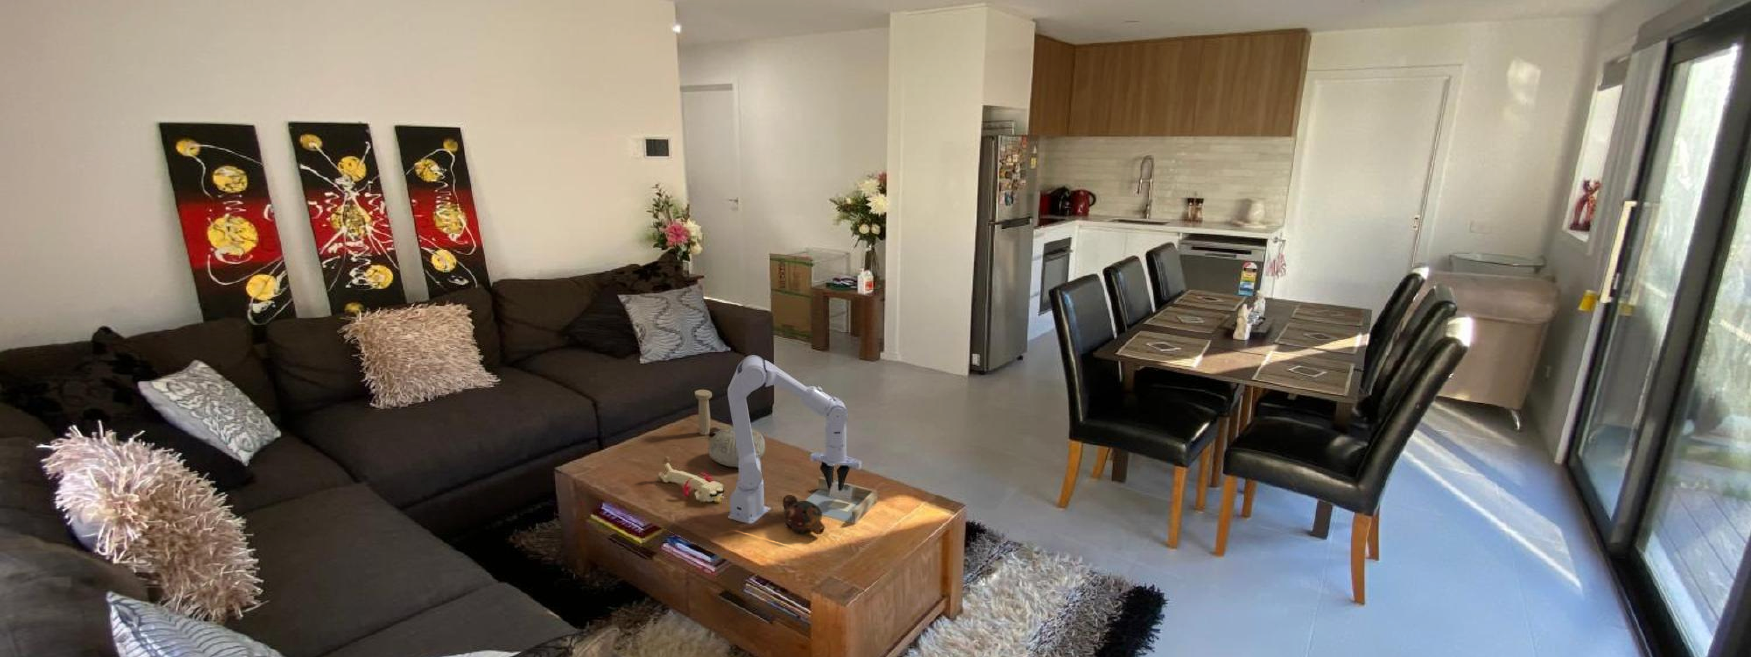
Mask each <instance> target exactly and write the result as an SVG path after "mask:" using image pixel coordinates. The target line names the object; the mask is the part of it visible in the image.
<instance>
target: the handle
mask: <svg viewBox="0 0 1751 657" xmlns="http://www.w3.org/2000/svg"><path fill="white" fill-rule="evenodd" d="M694 396H695V398H696V399H697V400H698V428H699V430H700V435H701V436H707V435H710V429H711V412H710V411H711V410H710V401H709V400H710V399H711V398H712V397H713V393H712V391H710V390H707V389H698V390H695V391H694Z"/></svg>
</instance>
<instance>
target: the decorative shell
mask: <svg viewBox="0 0 1751 657" xmlns="http://www.w3.org/2000/svg"><path fill="white" fill-rule="evenodd" d="M751 430H752V436H753V442H754V447H755V451H756V455H757V456H758V457H759V459H760V460H761V458H762V457H763V456H764V454H765V451H766V442H765V437H763V434H762V433H760V432H759V431H758V430H757V429H754V428H751ZM707 449H708V455H709V457H711V459H712V460H713V461H715V462H716V463H719V464H720V465H723V466H726V467H730V468H732V467H733V468H738V462H739V456H738V450H737V444H736V439H735V433H734V428H733V427H729V428H725V429H724V430H723V429H722V431H719V432H717V433H716V434H715V435H713V436H712V437H710V441H709V444H708V446H707Z"/></svg>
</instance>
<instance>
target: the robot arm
mask: <svg viewBox="0 0 1751 657" xmlns="http://www.w3.org/2000/svg"><path fill="white" fill-rule="evenodd" d="M775 385H776V386H778V387H780V388H781V389H783V390H786V391H787V392H789V393H791V394H793V395H795V396H797V397H799V398H800V401H801V405H802V406H805V407H806V408H808V409H810V410H811V411H813V413H814V412H815V413H816V414H818V415H820V416H821V417H825V418H826V420H825V421H826V423H825V442H824V443H825V446H824V447H825V452H824V453H823V452H812V453H811V454H810V457H809V458H810V459H809V460H810V463H811V462H812V463H815V462H818V463H821V465H820V466H819V469H820V471H821V473H822V475H823V476H824V478H825V479H826V482H827V486H828V489H830V488H831V483H833V480H834V471H835V470H834V468H835V466H839V467H838V468H837V469H836V473H837V481H838V491H841V490H842V489H843V487H844V483H846V482H845V481H846V478H847V476H848V474H849V472H850V470H851V469H852V468H853V469H855V470H856V471H860V470H861V468H862V465H863V464H862V460H860V459H856V458H854V457H850V456H848V455H847V422H848V419H849V415H848V411H847V408H846V405H845V403H844V402H843V401H842V400H841V398H839V397H836V396H831V395H829V394H827V393H826V392H824V391H823V388H822V387H820V386H817V387H816V386H814V385H811V386H806V385H804V384H803V383H801V382H800V381H798V380H797V379H795V378H794V377H792V376H791V375H790V374H788V373H786V372H785V371H783V370H782V369H781V368H779V367H777V366H776V365H775V364H774V363H772V362H770V361H768V360H766V359H763V358H762V357H761V356H758V355H755V354H751V355H748V356H746V357H744V359H742V361H740V362H739V363H738V365H737V367H736V370H735V371H734V374H733V377H732V379H731V381H730V384H729V385H728V388H727V398H728V405H729V410H730V416H731V421H732V426H733V427H732V428H734V433H735V439H736V444H737V450H738V456H739V462H738V467H737V468H738V477H737V478H738V479H737V480H736V486H735V490H734V491H733V492H732V493H731V495H730V497H729V510H730V511H729V515H727V519H731V520H734V521H738V522H741V523H745V524H749V525H751V524H752V525H753V524H754V523H755V522H756V521H758V520H759V519H760V518H762V517H763V516H764V515H765V514H767V513H768V512H769V511H771V507H769V506H766V505H765V489H764V488H765V486H764V485H765V484H764V479H763V474H762V460H761V458H760V459H759V457H758V456H757V455H756V451H755V447H754V442H753V436H752V430H751V429H752V426H751V420H750V414H749V409H748V407H749V406H748V403H747V397H748V396H749V395H750V394H751V393H752V392H753V391H756V390H758V389H759V388H760V387H762V386H765V387H766V388H767V387H770V386H775Z"/></svg>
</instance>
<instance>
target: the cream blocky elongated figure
mask: <svg viewBox="0 0 1751 657" xmlns="http://www.w3.org/2000/svg"><path fill="white" fill-rule="evenodd" d="M670 461H671V457H670V456H665V457H664V458H663V461H662V464H663V466H664V467H665V468H666V469H667V471H666V474H664V473H663V472H658V477H657V482H664V483H669V482H671V483H677V484H679V485H680V484H682V485H683V489H682V495H684V497H686V498H690V497H692V496H691V495H690V493H689V490H691V488H692V489H695V490H696V491H695V492H694V496H695V499H696V500H699V502H708V503H709V502H710V503H711V502H713V501H714V502H715V503H721V502H722V499H724V498H725V496H723V494H724V493H725V488H724V485H723V484H722V483H720V482H717V481H715V480H714V479H712V477H710V476H709V474H707V473H705V472H700V475H703V476H704V478H701V477H699V476H698V475H695V474H693V473H692V474H691V473H689V472H685V471H683V470H678V469H674V468H672V466H671V465H670V463H669V462H670Z"/></svg>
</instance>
